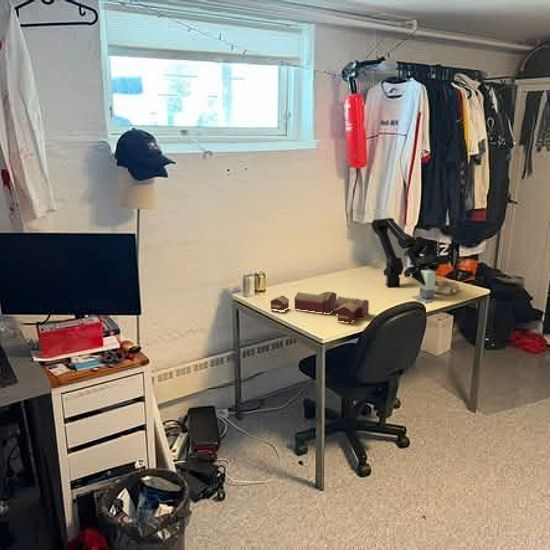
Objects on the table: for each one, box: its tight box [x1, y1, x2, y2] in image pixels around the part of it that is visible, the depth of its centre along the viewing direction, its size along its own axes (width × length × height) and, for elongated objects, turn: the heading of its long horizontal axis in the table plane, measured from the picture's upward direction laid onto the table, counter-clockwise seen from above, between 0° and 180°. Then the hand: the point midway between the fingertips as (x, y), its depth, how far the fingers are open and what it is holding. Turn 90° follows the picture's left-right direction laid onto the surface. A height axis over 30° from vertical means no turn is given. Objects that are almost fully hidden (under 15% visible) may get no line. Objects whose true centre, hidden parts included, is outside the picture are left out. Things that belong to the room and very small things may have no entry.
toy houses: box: [268, 291, 370, 324], centre depth 255 cm, size 45×20×10 cm, turn 61°
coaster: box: [411, 295, 443, 304], centre depth 271 cm, size 11×11×1 cm
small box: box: [406, 253, 425, 279], centre depth 310 cm, size 8×6×13 cm
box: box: [419, 269, 437, 298], centre depth 269 cm, size 5×5×13 cm
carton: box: [434, 279, 460, 296], centre depth 281 cm, size 15×15×5 cm
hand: (429, 284), depth 268 cm, fingers closed on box, 5 cm apart
